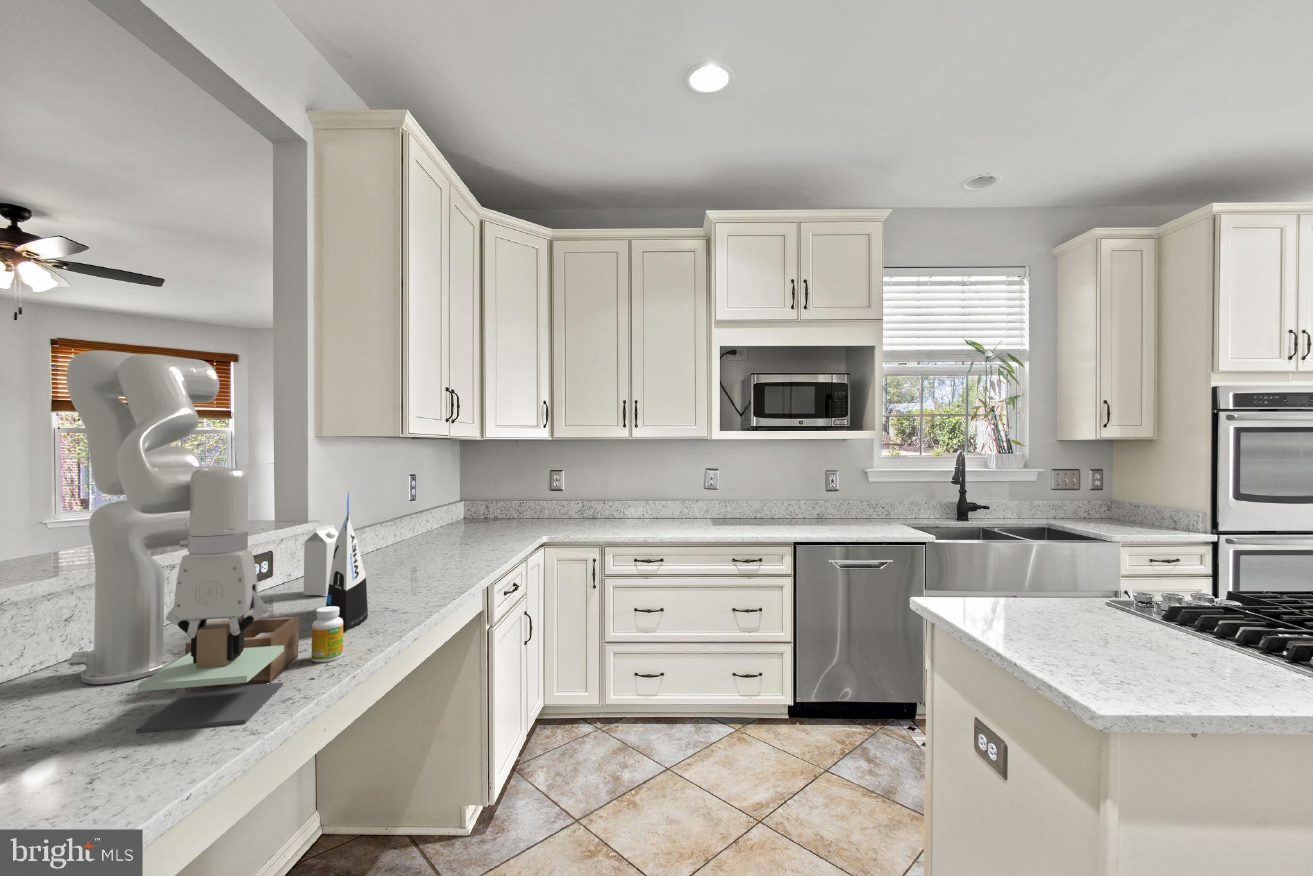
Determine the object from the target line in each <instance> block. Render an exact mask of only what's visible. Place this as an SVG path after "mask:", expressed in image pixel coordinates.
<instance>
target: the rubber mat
mask: <svg viewBox="0 0 1313 876" xmlns="http://www.w3.org/2000/svg"><path fill="white" fill-rule="evenodd" d="M283 683H284V682H273V683H272V682H271V683H269V684H256V685H243V686H230V687H217V688H204V689H190V690H186V692H185V693H183V694H182V695H181V696H179V697H178V698H176V699H175V700H173V701H172V702H170V704H168V705H167V706H165V707H164V708H163V709H162V710H160V711H158V712H157V713H156V714H155V715H153V716H152V717H150V718H149V719H148V720H147V721H145V722H144V723H142V724H141V725H140V726H138V727H137V728H135V733H136V734H142V732H144V733H152V732H151V731H155V732H164V730H166V731H172V730H171V729H177V730H185V729H184V728H188V729H199V728H207V727H206V726H211V727H220V725H222V726H230V725H229V724H233V725H242V723H244V724H247V722H249V720H251V718H252V717H254V715H256V713H257V712H258V711H259V710H260V709H262V707H263V706H264V705H265V704H266V703H267V702H268V701H269V700H270V699H271V698H273V696H274V695H275V694H276V693H278V691H280V689H281V688H282V687H283V686H284V684H283ZM281 686H282V687H281ZM279 688H280V689H279ZM277 690H278V691H277ZM272 695H273V696H272ZM270 697H271V698H270ZM268 699H269V700H268ZM266 701H267V702H266ZM263 704H264V705H263ZM240 723H241V724H240ZM227 724H228V725H227ZM162 730H163V731H162ZM149 731H150V732H149Z"/></svg>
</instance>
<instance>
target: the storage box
mask: <svg viewBox="0 0 1313 876" xmlns="http://www.w3.org/2000/svg"><path fill="white" fill-rule="evenodd" d="M299 618H300V617H299V616H291V617H290V616H288V617H275V618H274V617H271V618H258V619H257V620H255V621H254V622H253V623H252V624H251V625H250V626H249V627H248V628H247V629H246V630H244V648H252V647H266V646H281V645H284V651H283V652H282V653H281V654H280V655H279V656H278V657H276V658H275V659H274V660H273V661H272V662H270V663H269V664H268V665H267V666H266V667H265V668H263V669H262V670H261V671H260V672H259V673H257V674H256V675H255V676H254V677H253V678H252V679H250V680H249V681H248V682H246V683H234V684H222V685H210V686H197V687H185V688H184V691H189V690H190V689H204V688H217V687H230V686H243V685H256V684H267V683H272V681H273V680H274V679H275V680H276V679H277V678H279V676H280V675H282V673H283V672H284V671H285V670H287V668H289V667H290V666H291V663H292V662H293V661H294V662H295V661H296V660H298V658H299V626H300V625H299V621H300V619H299ZM222 622H229V620H223V621H222ZM190 652H191V639H190V640H189V641H187V642H185V652H184V653H185V655H187V654H189V653H190ZM185 655H184V656H185ZM294 662H293V663H294ZM293 663H292V664H293ZM275 680H274V681H275ZM274 681H273V682H274Z"/></svg>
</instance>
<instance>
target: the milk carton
mask: <svg viewBox="0 0 1313 876" xmlns="http://www.w3.org/2000/svg"><path fill="white" fill-rule="evenodd" d="M314 529H315V530H314V531H315V532H314V533H312V534H311V535H310V536H309V537H308V538H307V539H306V540H305V541H303V544H304V547H303V551H304V552H303V595H304V594H309V595H327V594H328V587H329V580H330V573H331V567H332V561H333V555H334V549H335V543H336V539H337V536H338V534H339V532H338V531H337V530H336V528H335V524H330V525H324V526H319V527H315V528H314ZM309 595H308V596H309Z"/></svg>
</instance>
